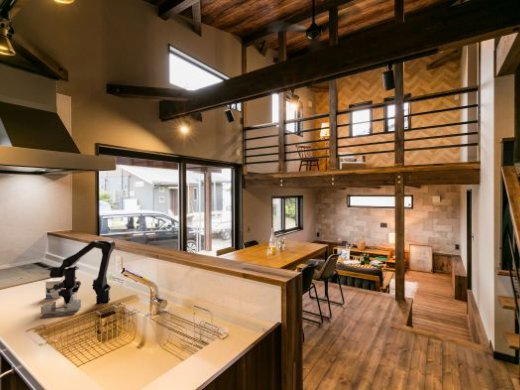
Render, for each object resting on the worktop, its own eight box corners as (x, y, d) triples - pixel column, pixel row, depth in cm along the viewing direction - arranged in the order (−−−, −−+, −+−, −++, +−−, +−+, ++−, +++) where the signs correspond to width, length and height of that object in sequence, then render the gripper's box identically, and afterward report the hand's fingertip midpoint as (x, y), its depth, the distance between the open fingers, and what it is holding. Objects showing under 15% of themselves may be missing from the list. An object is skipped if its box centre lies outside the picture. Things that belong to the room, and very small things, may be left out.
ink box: (45, 299, 179) (45, 281, 179) (48, 296, 184) (48, 279, 183) (60, 297, 181) (60, 280, 181) (63, 295, 186) (63, 278, 186)
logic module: (76, 301, 175) (76, 291, 175) (73, 305, 170) (72, 295, 170) (67, 302, 174) (67, 292, 174) (63, 306, 168) (63, 296, 168)
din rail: (82, 306, 168) (82, 297, 167) (75, 314, 156) (74, 304, 156) (48, 309, 163) (48, 300, 163) (38, 319, 151) (37, 308, 151)
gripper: (61, 273, 178) (62, 297, 179) (47, 283, 160) (48, 309, 161) (81, 272, 181) (81, 295, 182) (69, 281, 163) (70, 307, 164)
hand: (70, 301), depth 172 cm, fingers open, 9 cm apart
